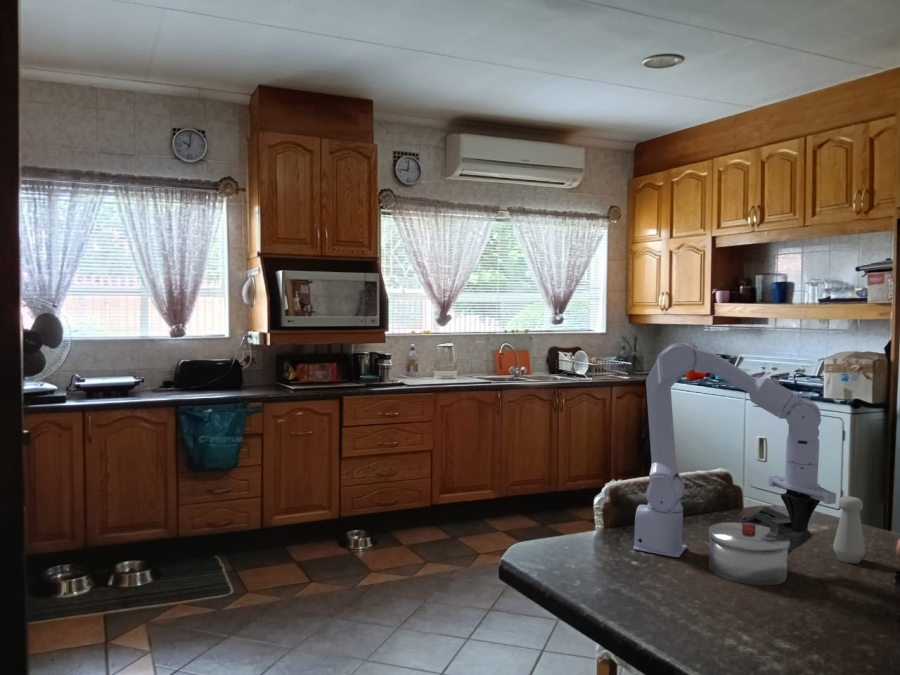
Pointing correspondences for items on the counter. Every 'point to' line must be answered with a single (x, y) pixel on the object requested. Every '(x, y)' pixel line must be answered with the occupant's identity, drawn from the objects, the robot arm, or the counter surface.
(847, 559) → the salt shaker
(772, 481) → the robot arm
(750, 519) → the dark slate chunk
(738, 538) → the lid
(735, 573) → the pot
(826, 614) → the counter surface
